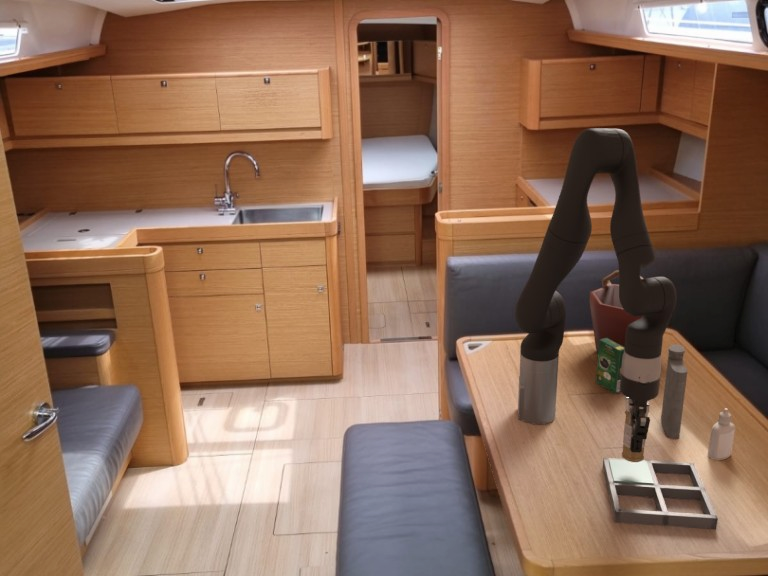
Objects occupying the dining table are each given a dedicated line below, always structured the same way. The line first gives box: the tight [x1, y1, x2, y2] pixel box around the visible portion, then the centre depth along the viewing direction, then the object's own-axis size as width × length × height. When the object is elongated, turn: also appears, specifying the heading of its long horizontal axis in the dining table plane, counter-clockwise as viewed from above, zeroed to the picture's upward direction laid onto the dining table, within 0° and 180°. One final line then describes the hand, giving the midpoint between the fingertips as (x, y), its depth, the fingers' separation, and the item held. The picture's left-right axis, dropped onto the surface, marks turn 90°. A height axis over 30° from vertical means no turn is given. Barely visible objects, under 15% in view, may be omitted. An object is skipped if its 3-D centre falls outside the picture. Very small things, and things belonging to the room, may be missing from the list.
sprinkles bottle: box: [621, 399, 650, 462], centre depth 152 cm, size 5×5×14 cm
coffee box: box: [595, 338, 625, 395], centre depth 194 cm, size 8×3×13 cm, turn 26°
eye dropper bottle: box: [707, 407, 736, 461], centre depth 162 cm, size 4×6×12 cm
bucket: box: [589, 269, 645, 354], centre depth 210 cm, size 24×22×25 cm
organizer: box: [602, 457, 719, 530], centre depth 151 cm, size 19×19×3 cm
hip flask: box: [660, 344, 688, 440], centre depth 175 cm, size 16×4×20 cm, turn 162°
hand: (633, 444), depth 153 cm, fingers closed on sprinkles bottle, 4 cm apart
